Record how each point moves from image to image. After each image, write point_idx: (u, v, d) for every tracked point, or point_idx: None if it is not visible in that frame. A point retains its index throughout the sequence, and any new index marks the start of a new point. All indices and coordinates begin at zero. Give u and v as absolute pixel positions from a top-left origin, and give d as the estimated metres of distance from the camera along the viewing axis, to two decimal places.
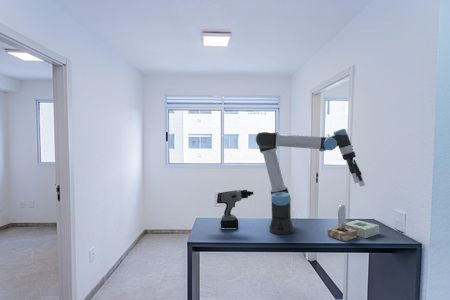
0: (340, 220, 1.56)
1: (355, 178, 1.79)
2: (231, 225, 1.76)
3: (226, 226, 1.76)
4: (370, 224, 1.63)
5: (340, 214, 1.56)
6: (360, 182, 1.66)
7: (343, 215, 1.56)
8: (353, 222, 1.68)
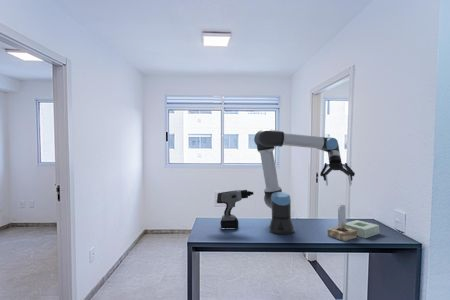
0: (340, 220, 1.56)
1: (327, 180, 1.71)
2: (231, 225, 1.76)
3: (226, 226, 1.76)
4: (370, 224, 1.63)
5: (340, 214, 1.56)
6: None
7: (343, 215, 1.56)
8: (353, 222, 1.68)
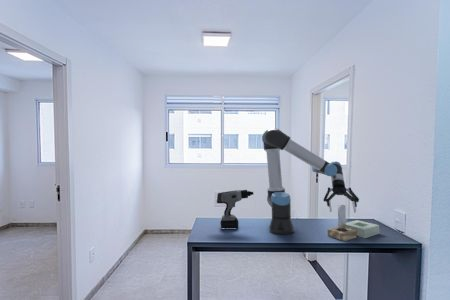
0: (340, 220, 1.56)
1: (330, 206, 1.66)
2: (231, 225, 1.76)
3: (226, 226, 1.76)
4: (370, 224, 1.63)
5: (340, 214, 1.56)
6: None
7: (343, 215, 1.56)
8: (353, 222, 1.68)
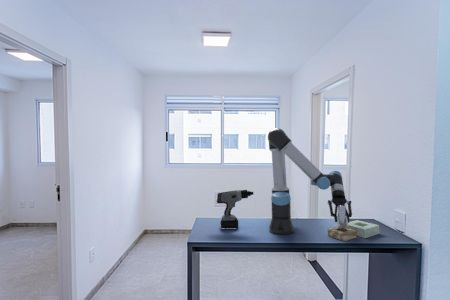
0: (340, 220, 1.56)
1: (338, 222, 1.56)
2: (231, 225, 1.76)
3: (226, 226, 1.76)
4: (370, 224, 1.63)
5: (340, 214, 1.56)
6: (347, 223, 1.54)
7: (343, 215, 1.56)
8: (353, 222, 1.68)
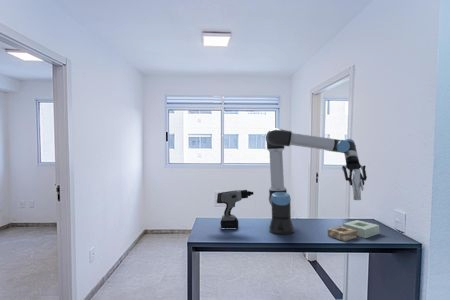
0: (355, 183, 1.60)
1: None
2: (231, 225, 1.76)
3: (226, 226, 1.76)
4: (370, 224, 1.63)
5: (355, 177, 1.60)
6: None
7: (358, 178, 1.59)
8: (353, 222, 1.68)
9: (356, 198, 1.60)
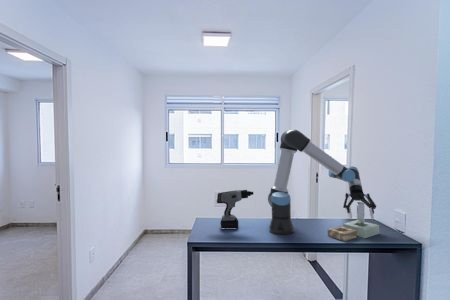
0: (359, 217, 1.62)
1: None
2: (231, 225, 1.76)
3: (226, 226, 1.76)
4: (370, 224, 1.63)
5: (359, 211, 1.62)
6: None
7: (362, 212, 1.61)
8: (353, 222, 1.68)
9: None
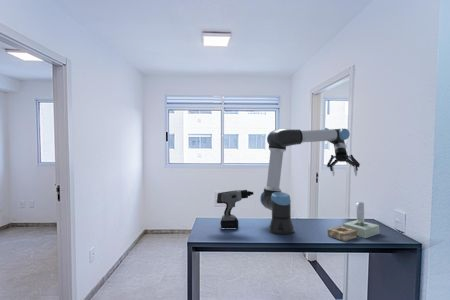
0: (359, 217, 1.62)
1: (333, 170, 1.80)
2: (231, 225, 1.76)
3: (226, 226, 1.76)
4: (370, 224, 1.63)
5: (359, 211, 1.62)
6: None
7: (362, 212, 1.62)
8: (353, 222, 1.68)
9: None
